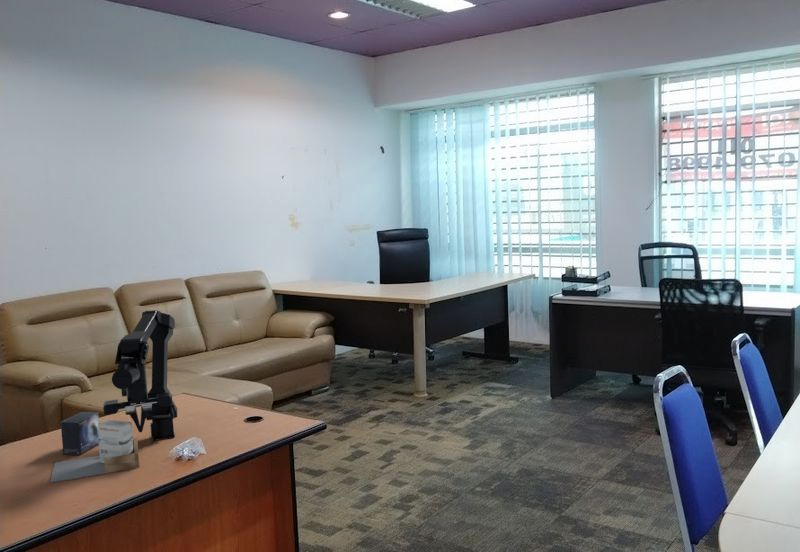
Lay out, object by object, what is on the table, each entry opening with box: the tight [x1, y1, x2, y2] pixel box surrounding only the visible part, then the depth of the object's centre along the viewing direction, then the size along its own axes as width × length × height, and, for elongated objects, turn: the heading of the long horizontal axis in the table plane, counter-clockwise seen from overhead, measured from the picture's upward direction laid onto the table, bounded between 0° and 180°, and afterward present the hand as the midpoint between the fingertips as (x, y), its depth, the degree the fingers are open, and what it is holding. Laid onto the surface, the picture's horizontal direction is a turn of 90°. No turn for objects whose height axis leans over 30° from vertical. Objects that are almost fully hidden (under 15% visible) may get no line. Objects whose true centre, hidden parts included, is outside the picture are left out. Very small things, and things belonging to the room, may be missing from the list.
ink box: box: [98, 419, 134, 463], centre depth 208 cm, size 9×5×12 cm, turn 71°
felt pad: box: [49, 455, 107, 484], centre depth 205 cm, size 14×16×1 cm
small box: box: [60, 411, 100, 456], centre depth 221 cm, size 11×6×10 cm, turn 168°
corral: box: [104, 437, 140, 474], centre depth 209 cm, size 9×15×4 cm, turn 21°
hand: (140, 431), depth 210 cm, fingers closed
